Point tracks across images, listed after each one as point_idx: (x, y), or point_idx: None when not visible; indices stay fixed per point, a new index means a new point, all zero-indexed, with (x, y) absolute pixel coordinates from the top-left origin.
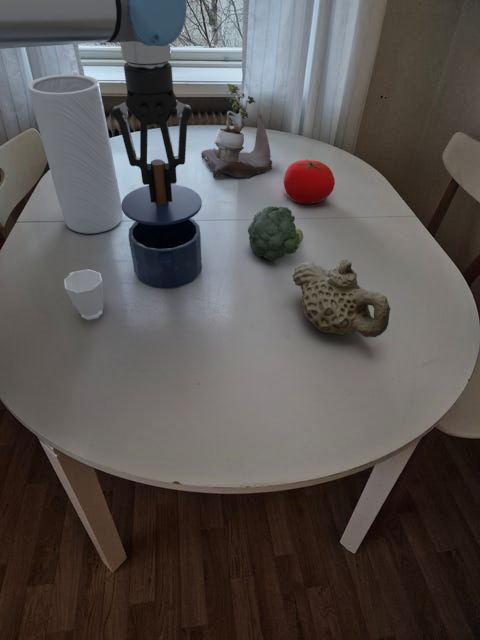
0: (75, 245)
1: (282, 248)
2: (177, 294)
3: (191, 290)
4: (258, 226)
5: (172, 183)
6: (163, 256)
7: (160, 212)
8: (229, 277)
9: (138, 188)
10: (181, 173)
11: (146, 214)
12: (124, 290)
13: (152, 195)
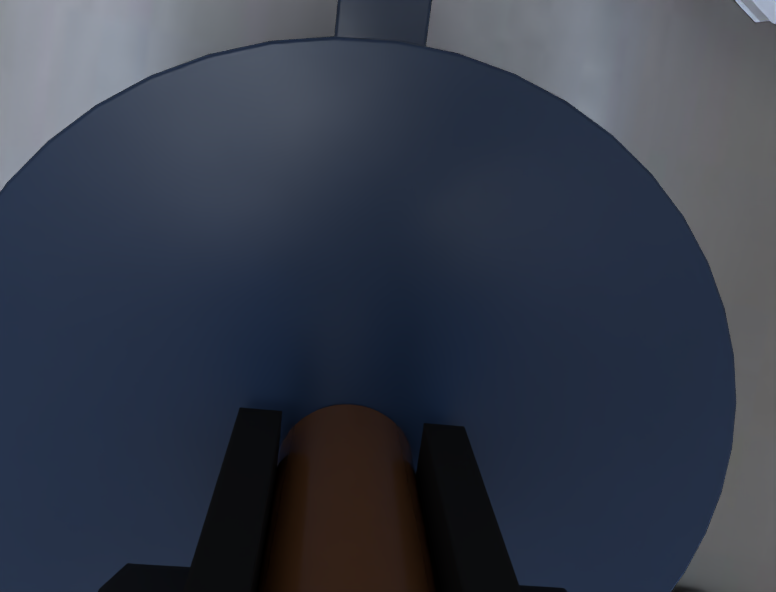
0: (754, 519)
1: None
2: (328, 10)
3: (247, 27)
4: None
5: (174, 567)
6: (396, 37)
7: (388, 260)
8: (13, 97)
9: None
10: None
11: (536, 247)
12: (594, 114)
13: (452, 467)
